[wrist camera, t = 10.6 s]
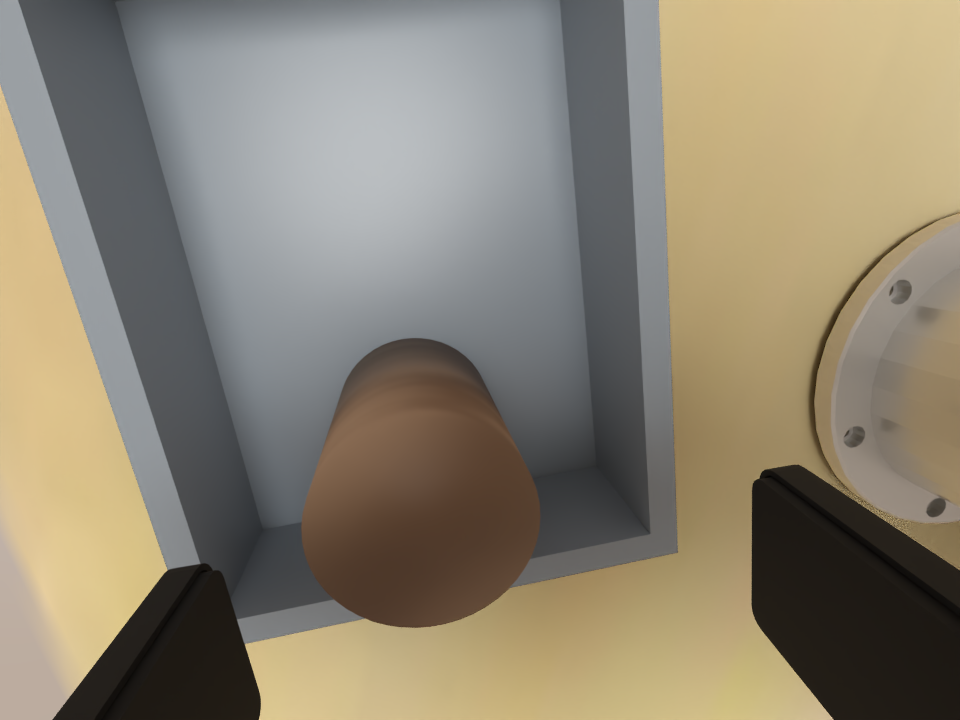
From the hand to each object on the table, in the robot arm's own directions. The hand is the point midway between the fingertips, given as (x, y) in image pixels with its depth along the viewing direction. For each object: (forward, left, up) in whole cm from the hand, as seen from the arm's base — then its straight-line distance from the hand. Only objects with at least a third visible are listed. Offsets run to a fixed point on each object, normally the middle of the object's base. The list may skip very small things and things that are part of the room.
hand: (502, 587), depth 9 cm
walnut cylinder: (+1, +1, -9) cm, 9 cm away
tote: (+4, -3, -10) cm, 11 cm away
